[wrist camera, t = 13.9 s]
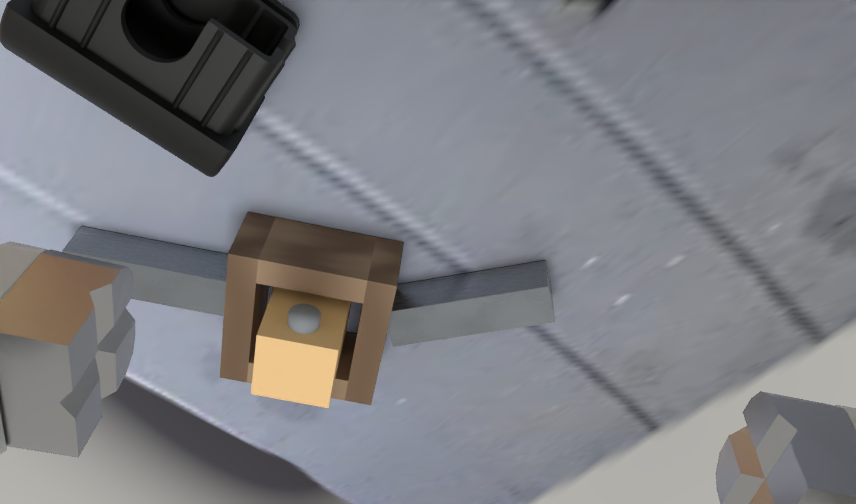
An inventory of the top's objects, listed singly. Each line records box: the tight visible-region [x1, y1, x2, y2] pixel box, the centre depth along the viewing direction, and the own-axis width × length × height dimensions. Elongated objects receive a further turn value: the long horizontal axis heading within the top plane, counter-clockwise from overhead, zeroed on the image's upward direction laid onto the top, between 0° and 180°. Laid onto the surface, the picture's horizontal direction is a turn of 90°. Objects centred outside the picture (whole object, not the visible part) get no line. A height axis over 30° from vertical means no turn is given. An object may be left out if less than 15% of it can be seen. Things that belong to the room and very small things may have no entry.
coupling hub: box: [220, 212, 404, 405], centre depth 44 cm, size 8×8×4 cm
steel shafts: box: [62, 226, 555, 346], centre depth 43 cm, size 26×6×2 cm, turn 79°
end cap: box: [0, 0, 300, 177], centre depth 34 cm, size 10×7×7 cm
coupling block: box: [251, 287, 352, 408], centre depth 42 cm, size 4×5×7 cm
